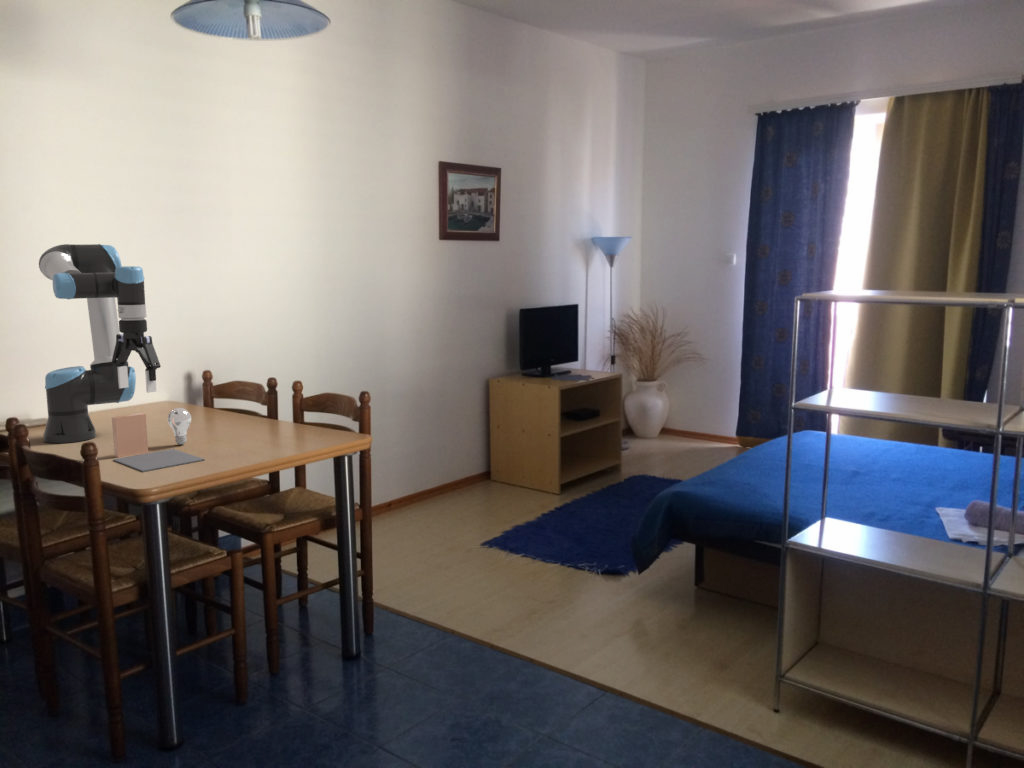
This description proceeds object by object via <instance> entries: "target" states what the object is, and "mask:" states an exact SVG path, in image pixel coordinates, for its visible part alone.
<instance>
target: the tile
mask: <svg viewBox="0 0 1024 768" xmlns="http://www.w3.org/2000/svg"><path fill="white" fill-rule="evenodd" d="M111 422H112V423H111V424H112V438H113V449H114V451H113V452H114V457H116V458H123V457H129V456H135V455H140V454H146V453H149V442H148V429H147V414H146V413H144V412H140V413H132V414H126V415H125V414H124V415H117V416H112V417H111Z"/></svg>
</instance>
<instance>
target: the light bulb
mask: <svg viewBox="0 0 1024 768" xmlns="http://www.w3.org/2000/svg"><path fill="white" fill-rule="evenodd" d="M191 422H192V414H191V413H190V412H189V410H187V409H186V408H183V407H176V408H173V409H172V410H171V411H170V413H169V414H168V417H167V423H168V425H169V427H170V428H171V429H172V431H173V435H174V438H175V443H176V444H177V445H178V446H184V445H185V443H187V442H188V441H187V434H188V430H189V428H190V425H191Z"/></svg>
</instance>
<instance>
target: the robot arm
mask: <svg viewBox="0 0 1024 768" xmlns="http://www.w3.org/2000/svg"><path fill="white" fill-rule="evenodd" d="M38 268H39V271H40V273H42V275H43V276H44V277H45V278H46V279H48V280H51V281H52V289H53V294H54V297H55V298H56V299H61V300H74V299H76V300H77V299H86V303H87V310H88V311H87V312H88V318H89V327H90V334H91V342H92V349H93V350H92V351H93V357H94V358H93V359H94V360H93V361H92V362H91V363H90V365H89V366H90V369H88V370H87V369H86V368H85V367H84V366H82V365H81V366H80V365H78V366H69V367H62V368H59V369H55V370H51V371H49V372H47V373H46V375H45V377H44V378H45V379H44V380H45V381H44V382H45V385H44V389H45V395H46V404H47V405H46V407H47V408H46V409H47V420H46V425H45V428H44V432H43V441H44V442H46V443H51V444H65V443H66V444H69V443H77V442H84V441H87V440H88V441H89V440H91V439H94V438H96V437H97V434H96V433H97V432H96V429H95V426H94V423H93V422H92V419H91V417H90V415H89V409H88V406H95V405H105V404H113V403H115V404H119V403H123V402H128V401H130V400H132V399H133V397H134V395H135V392H136V384H137V383H136V379H137V376H136V371H135V368H134V367H133V366H130V365H129V361H128V359H129V357H130V355H131V353H132V352H133V351H134V352H135V353H137V354H138V355H139V357H140V359H141V362H143V363H142V364H144V366H145V370H144V371H145V387H146V393H154V392H157V373H156V370H157V369H160V368H161V363H160V360H159V357H158V354H157V352H156V348H155V347H154V344H153V337H152V336H151V335H145V333H146V332H147V331H148V322H147V320H146V319H145V318H147V307H146V306H147V305H146V294H145V292H146V291H145V276H144V271H143V270H144V269H143V268H142V267H141V266H123V265H122V262H121V257H120V255H119V252H118V250H117V248H115V246H113V245H111V244H109V245H108V244H100V243H98V244H96V243H95V244H68V243H67V244H58V245H55V246H52V247H51V248H48V249H47V250H45V251H44V252H43V253H42V254H41V256H40V258H39V259H38ZM116 299H117V304H116ZM118 319H119V320H118Z"/></svg>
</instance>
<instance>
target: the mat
mask: <svg viewBox="0 0 1024 768" xmlns="http://www.w3.org/2000/svg"><path fill="white" fill-rule="evenodd" d="M202 460H204V461H205V458H204V457H203V458H202V457H200V456H196V455H193V454H189V453H187V452H184V451H181V450H178V449H175V448H170V449H165V450H158V451H152V452H148V453H143V454H137V455H131V456H125V457H119V458H118V457H116V458H113V462H116V463H119V464H121V465H124V466H127V467H129V468H131V469H134V470H137V471H139V472H142V473H145V472H151V471H155V470H161V469H166V468H173V467H178V466H183V465H188V464H193V462H194V463H198V461H199V462H203V461H202Z"/></svg>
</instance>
